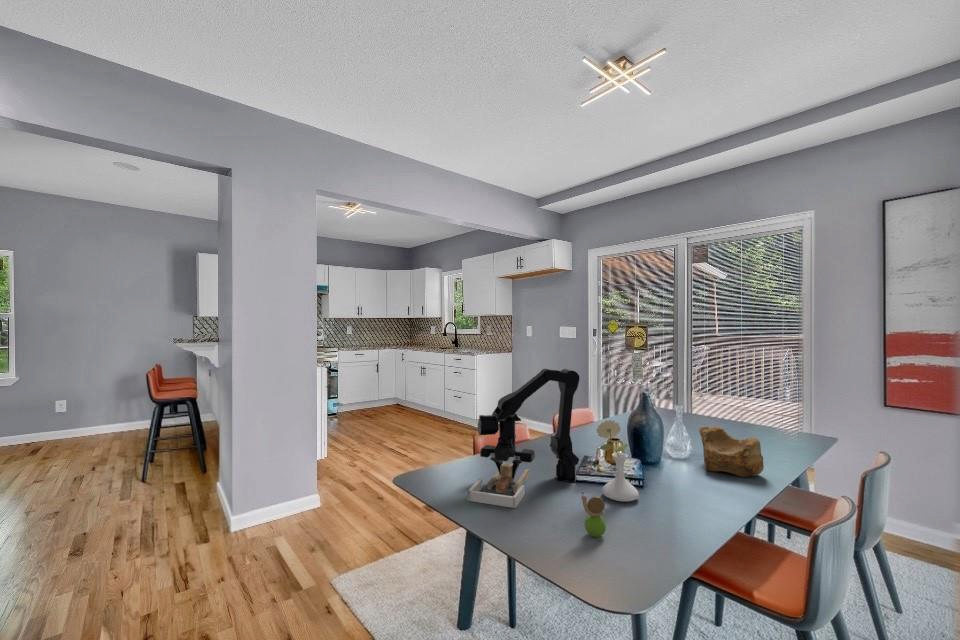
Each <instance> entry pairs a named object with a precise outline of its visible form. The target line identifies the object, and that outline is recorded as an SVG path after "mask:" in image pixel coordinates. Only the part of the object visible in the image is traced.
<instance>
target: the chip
mask: <svg viewBox="0 0 960 640" xmlns="http://www.w3.org/2000/svg"><path fill="white" fill-rule="evenodd" d="M507 491H508V489H507V481H503V480H498V481H497V482H496V484H495V493H498V494H499V493H501V494H505V493H506V492H507Z"/></svg>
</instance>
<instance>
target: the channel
mask: <svg viewBox="0 0 960 640" xmlns="http://www.w3.org/2000/svg"><path fill="white" fill-rule="evenodd" d="M529 476H530V469H529V468H526V469H525V470H524V471H523V472H522V474H521V475H520V477H519V478H518V480H517V481H515V485H514V486H513V485H512V486H513V487H512V493H513V494H516V492H517V491H518V489H519V488H520V486H521V485H524V483H525V482H526V480H527V479H528V477H529ZM496 479H500V474H499V471H498V470H497V472H496V473H495V474H494V475H493V476H492V477H491V478H490V480H488V481H487V482H486V489H487V490H491V489H492V488H494V486H496Z"/></svg>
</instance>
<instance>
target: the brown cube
mask: <svg viewBox="0 0 960 640" xmlns="http://www.w3.org/2000/svg"><path fill="white" fill-rule="evenodd" d="M499 480H503V481H507V490H509V488H510V486H511V485H510V478H506V477H501V478H500V479H499Z"/></svg>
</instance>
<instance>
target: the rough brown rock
mask: <svg viewBox="0 0 960 640" xmlns="http://www.w3.org/2000/svg"><path fill="white" fill-rule="evenodd" d="M698 433H699V435H700V437H701V443H702V449H703V451H702V452H703V462H704V465H705V466H704V469H705V470H706V471H708V472H726V473H730V474H733V475H734V476H738V477H741V478H749V477H754V476H755V477H756V476H757V475H760V474H761V473H762V472H763V471H764V468H765V467H764V456H763V455H762V449H761V448H762V447H761V442H760V440H759V439H757V438H753V437H747V438H745V439H739V438H735V437H732V436H731V435H729V434H728V433H727V432H726V431H725V429H724V428H722V427H719V426H712V427H709V426H701V427H699V430H698Z"/></svg>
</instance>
